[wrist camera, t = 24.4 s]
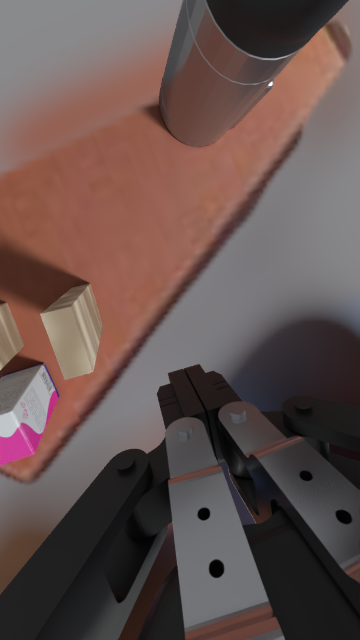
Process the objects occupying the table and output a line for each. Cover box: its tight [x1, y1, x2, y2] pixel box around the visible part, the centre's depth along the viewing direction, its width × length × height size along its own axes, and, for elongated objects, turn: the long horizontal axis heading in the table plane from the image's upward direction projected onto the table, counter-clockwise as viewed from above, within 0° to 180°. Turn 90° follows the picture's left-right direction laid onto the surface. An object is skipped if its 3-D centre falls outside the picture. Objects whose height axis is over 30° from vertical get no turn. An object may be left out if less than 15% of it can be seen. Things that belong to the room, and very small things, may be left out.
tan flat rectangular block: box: [40, 283, 103, 380], centre depth 30 cm, size 2×6×15 cm, turn 11°
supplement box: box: [0, 363, 59, 465], centre depth 33 cm, size 6×6×12 cm
